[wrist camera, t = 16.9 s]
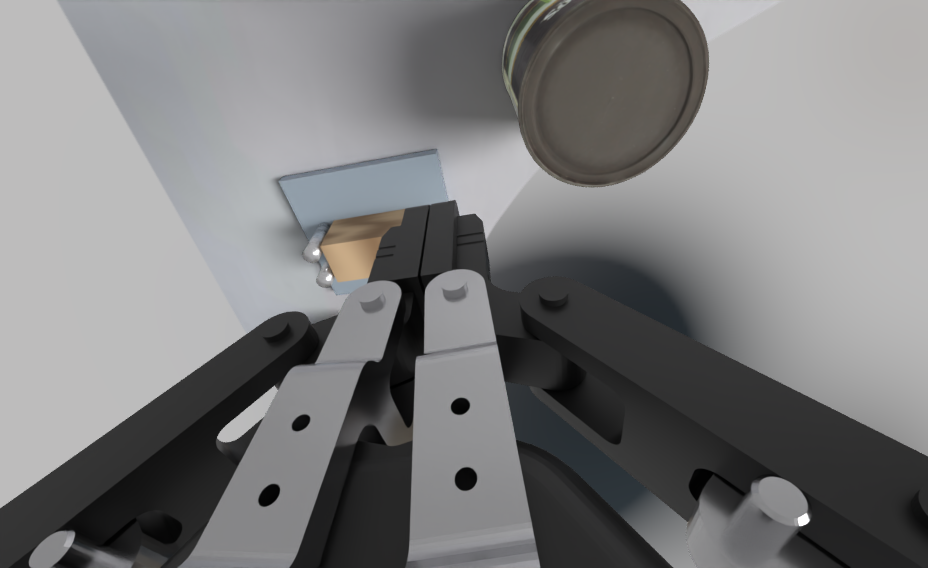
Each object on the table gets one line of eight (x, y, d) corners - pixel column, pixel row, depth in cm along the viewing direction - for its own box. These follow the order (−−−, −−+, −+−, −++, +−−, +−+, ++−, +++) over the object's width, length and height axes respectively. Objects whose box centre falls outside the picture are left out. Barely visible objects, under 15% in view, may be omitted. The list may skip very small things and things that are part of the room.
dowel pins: (330, 221, 41) (315, 248, 37) (346, 257, 44) (334, 286, 40) (315, 223, 41) (299, 250, 37) (333, 259, 44) (319, 288, 40)
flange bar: (349, 255, 43) (337, 282, 40) (333, 220, 41) (320, 246, 37) (435, 241, 42) (432, 268, 38) (425, 205, 40) (421, 230, 36)
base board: (436, 149, 37) (436, 153, 36) (464, 271, 46) (464, 277, 45) (282, 176, 39) (278, 181, 38) (338, 289, 48) (336, 295, 47)
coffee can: (499, -11, 29) (520, -4, 18) (635, -24, 29) (740, -25, 18) (501, 127, 36) (517, 193, 25) (612, 118, 35) (679, 182, 24)
